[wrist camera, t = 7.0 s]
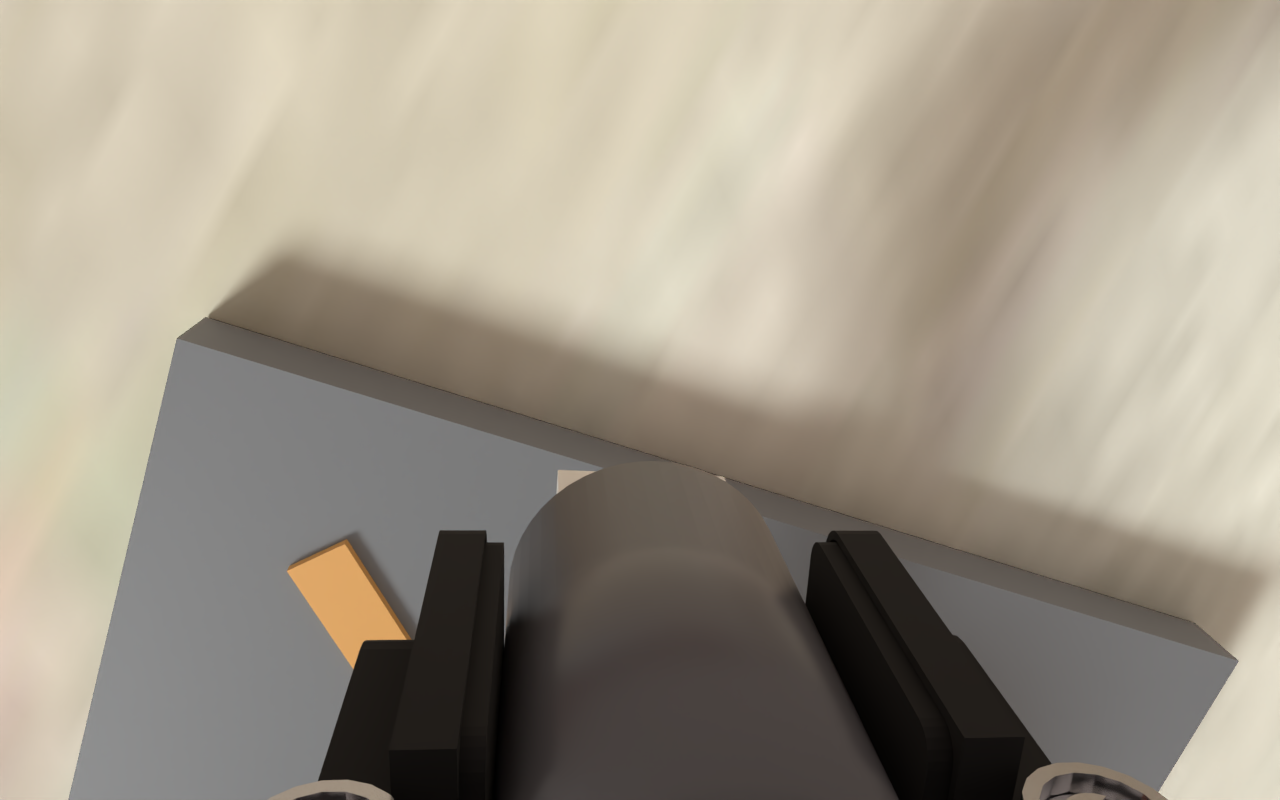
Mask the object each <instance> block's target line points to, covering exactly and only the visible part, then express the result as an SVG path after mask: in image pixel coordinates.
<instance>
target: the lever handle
mask: <svg viewBox="0 0 1280 800" xmlns="http://www.w3.org/2000/svg"><path fill="white" fill-rule="evenodd" d="M493 800H899V798H898V796H897V794H896V792H895V790H894V788H893V786H892V784H891V782H890V780H889V778H888V775H887V773H886V771H885V769H884V767H883V765H882V763H881V761H880V759H879V757H878V755H877V753H876V750H875V748H874V746H873V744H872V742H871V740H870V738H869V736H868V734H867V732H866V730H865V728H864V726H863V723H862V721H861V719H860V717H859V715H858V713H857V711H856V709H855V707H854V705H853V703H852V701H851V698H850V696H849V694H848V692H847V690H846V688H845V686H844V684H843V682H842V680H841V678H840V676H839V674H838V671H837V669H836V667H835V665H834V663H833V661H832V659H831V657H830V655H829V653H828V651H827V649H826V646H825V644H824V642H823V640H822V638H821V636H820V634H819V632H818V630H817V628H816V626H815V624H814V622H813V619H812V617H811V615H810V613H809V611H808V609H807V607H806V605H805V603H804V601H803V599H802V597H801V594H800V592H799V590H798V588H797V586H796V584H795V582H794V580H793V578H792V576H791V574H790V572H789V570H788V567H787V565H786V563H785V561H784V559H783V557H782V555H781V553H780V551H779V549H778V547H777V545H776V542H775V540H774V538H773V536H772V534H771V532H770V530H769V528H768V526H767V525H766V523H765V521H764V519H763V518H762V516H761V515H760V513H759V512H758V511H757V509H756V508H755V507H754V506H753V504H752V503H751V502H750V501H749V500H748V499H747V498H746V497H745V496H744V495H743V494H742V493H740V492H739V491H738V490H737V489H735V488H734V487H733V486H731V485H730V484H728V483H727V482H726V480H725V478H724V476H714V475H712V474H711V473H708V472H705V471H703V470H700V469H697V468H695V467H691V466H687V465H683V464H678V463H672V462H662V461H638V462H631V463H624V464H619V465H615V466H611V467H608V468H604V469H601V470H598V471H574V470H558V475H557V493H556V495H555V496H553V497H552V498H551V499H550V500H549V501H548V502H547V503H546V504H545V505H544V506H543V507H542V508H541V509H540V510H539V512H538V513H537V514H536V515H535V517H534V518H533V519H532V520H531V522H530V523H529V525H528V526H527V528H526V530H525V531H524V533H523V535H522V537H521V539H520V541H519V543H518V546H517V548H516V550H515V554H514V557H513V561H512V565H511V570H510V578H509V589H508V603H507V617H506V631H505V644H504V658H503V672H502V686H501V700H500V714H499V728H498V741H497V755H496V769H495V783H494V797H493Z"/></svg>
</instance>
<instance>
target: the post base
mask: <svg viewBox="0 0 1280 800" xmlns="http://www.w3.org/2000/svg"><path fill="white" fill-rule="evenodd" d="M638 461H662V462H672V461H669V460H666V459H662V458H659V457H656V456H653V455H650V454H646V453H643V452H640V451H637V450H633V449H630V448H627V447H624V446H620V445H617V444H614V443H611V442H608V441H604V440H601V439H598V438H595V437H591V436H588V435H585V434H582V433H578V432H575V431H572V430H569V429H566V428H562V427H559V426H556V425H553V424H549V423H546V422H543V421H540V420H536V419H533V418H530V417H527V416H524V415H520V414H517V413H514V412H511V411H507V410H504V409H501V408H498V407H494V406H491V405H488V404H485V403H482V402H478V401H475V400H472V399H469V398H465V397H462V396H459V395H456V394H452V393H449V392H446V391H443V390H440V389H436V388H433V387H430V386H427V385H423V384H420V383H417V382H414V381H410V380H407V379H404V378H401V377H398V376H394V375H391V374H388V373H385V372H381V371H378V370H375V369H372V368H368V367H365V366H362V365H359V364H356V363H352V362H349V361H346V360H343V359H339V358H336V357H333V356H330V355H326V354H323V353H320V352H317V351H314V350H310V349H307V348H304V347H301V346H297V345H294V344H291V343H288V342H284V341H281V340H278V339H275V338H272V337H268V336H265V335H262V334H259V333H255V332H252V331H249V330H246V329H242V328H239V327H236V326H233V325H230V324H226V323H223V322H220V321H217V320H213V319H210V318H207V317H205V318H204V319H203V320H201V321H200V322H198V323H197V324H196V325H194V326H193V327H192V328H190V329H189V330H188V331H186V332H185V333H184V334H182V335H181V336H179V337H178V338H177V340H176V344H175V349H174V353H173V357H172V361H171V366H170V370H169V374H168V378H167V383H166V387H165V391H164V395H163V400H162V404H161V408H160V412H159V417H158V421H157V425H156V429H155V434H154V438H153V442H152V446H151V451H150V455H149V459H148V463H147V468H146V472H145V476H144V481H143V485H142V489H141V493H140V498H139V502H138V506H137V510H136V515H135V519H134V523H133V527H132V532H131V536H130V540H129V544H128V549H127V553H126V557H125V561H124V566H123V570H122V574H121V578H120V583H119V587H118V591H117V595H116V600H115V604H114V608H113V612H112V617H111V621H110V625H109V629H108V634H107V638H106V642H105V646H104V651H103V655H102V659H101V664H100V668H99V672H98V676H97V681H96V685H95V689H94V693H93V698H92V702H91V706H90V710H89V715H88V719H87V723H86V727H85V732H84V736H83V740H82V744H81V749H80V753H79V757H78V761H77V766H76V770H75V774H74V778H73V783H72V787H71V791H70V795H69V800H268V799H269V798H271V797H273V796H275V795H277V794H280V793H282V792H284V791H286V790H289V789H291V788H293V787H296V786H300V785H304V784H309V783H313V782H317V781H318V779H319V776H320V773H321V769H322V766H323V763H324V760H325V757H326V754H327V751H328V748H329V744H330V741H331V738H332V735H333V732H334V729H335V726H336V722H337V719H338V716H339V713H340V710H341V707H342V704H343V700H344V697H345V694H346V691H347V688H348V685H349V682H350V679H351V675H352V672H353V669H354V666H355V663H356V660H357V657H358V653H359V650H360V648H361V646H362V643H363V642H364V641H366V640H414V639H415V634H416V630H417V626H418V621H419V617H420V612H421V608H422V604H423V599H424V595H425V591H426V586H427V582H428V578H429V573H430V569H431V565H432V560H433V556H434V551H435V547H436V543H437V538H438V534H439V531H440V530H486V533H487V542H504V644H505V631H506V617H507V603H508V589H509V578H510V570H511V565H512V561H513V557H514V554H515V550H516V548H517V546H518V543H519V541H520V539H521V537H522V535H523V533H524V531H525V530H526V528H527V526H528V525H529V523H530V522H531V520H532V519H533V518H534V517H535V515H536V514H537V513H538V512H539V510H540V509H541V508H542V507H543V506H544V505H545V504H546V503H547V502H548V501H549V500H550V499H551V498H552V497H553V496H555V495H556V493H557V475H558V470H574V471H598V470H601V469H604V468H608V467H611V466H615V465H619V464H624V463H631V462H638ZM672 463H675V462H672ZM678 464H679V463H678ZM712 475H714V474H712ZM714 476H717V475H714ZM725 480H726V482H727V483H728V484H730V485H731V486H733V487H734V488H735V489H737V490H738V491H739V492H740V493H742V494H743V495H744V496H745V497H746V498H747V499H748V500H749V501H750V502H751V503H752V504H753V506H754V507H755V508H756V509H757V511H758V512H759V513H760V515H761V516H762V518H763V519H764V521H765V523H766V525H767V526H768V528H769V530H770V532H771V534H772V536H773V538H774V540H775V542H776V545H777V547H778V549H779V551H780V553H781V555H782V557H783V559H784V561H785V563H786V565H787V567H788V570H789V572H790V574H791V576H792V578H793V580H794V582H795V584H796V586H797V588H798V590H799V592H800V594H801V597H802V599H803V601H804V603H806V594H807V585H808V576H809V567H810V558H811V551H812V548H813V545H814V544H815V542H826V540H827V537H828V534H829V533H830V532H831V531H878V532H879V533H880V534H881V535H882V537H883V538H884V539H885V541H886V542H887V544H888V545H889V546H890V548H891V549H892V551H893V552H894V553H895V555H896V556H897V558H898V559H899V560H900V562H901V563H902V565H903V566H904V567H905V569H906V570H907V572H908V573H909V574H910V576H911V577H912V579H913V580H914V581H915V583H916V584H917V586H918V587H919V588H920V590H921V591H922V593H923V594H924V596H925V597H926V598H927V600H928V601H929V603H930V604H931V605H932V607H933V608H934V610H935V611H936V612H937V614H938V615H939V617H940V618H941V619H942V621H943V622H944V624H945V625H946V626H947V628H948V629H949V631H950V632H951V633H952V635H956V636H958V637H959V638H960V639H961V640H962V641H963V642H964V643H965V644H966V646H967V647H968V649H969V650H970V651H971V653H972V654H973V655H974V657H975V658H976V660H977V661H978V662H979V664H980V665H981V667H982V668H983V669H984V671H985V672H986V673H987V675H988V676H989V678H990V679H991V680H992V682H993V683H994V685H995V686H996V687H997V689H998V690H999V691H1000V693H1001V694H1002V696H1003V697H1004V698H1005V700H1006V701H1007V702H1008V704H1009V705H1010V707H1011V708H1012V709H1013V711H1014V712H1015V714H1016V715H1017V716H1018V718H1019V719H1020V720H1021V722H1022V723H1023V725H1024V726H1025V727H1026V729H1027V730H1028V732H1029V733H1030V734H1031V736H1032V737H1033V738H1034V740H1035V741H1036V743H1037V744H1038V745H1039V747H1040V748H1041V749H1042V751H1043V752H1044V754H1045V755H1046V756H1047V758H1048V759H1049V761H1050V762H1051V763H1052V764H1054V763H1071V762H1080V763H1085V764H1091V765H1097V766H1102V767H1106V768H1109V769H1112V770H1114V771H1117V772H1120V773H1123V774H1126V775H1129V776H1131V777H1133V778H1134V779H1136V780H1138V781H1140V782H1142V783H1144V784H1146V785H1148V786H1149V787H1151V788H1153V789H1154V790H1156V791H1157V792H1158V791H1159V790H1160V788H1161V786H1162V785H1163V783H1164V781H1165V780H1166V778H1167V777H1168V775H1169V773H1170V772H1171V770H1172V768H1173V767H1174V765H1175V764H1176V762H1177V760H1178V759H1179V757H1180V755H1181V754H1182V752H1183V751H1184V749H1185V747H1186V746H1187V744H1188V742H1189V741H1190V739H1191V738H1192V736H1193V734H1194V733H1195V731H1196V729H1197V728H1198V726H1199V725H1200V723H1201V721H1202V720H1203V718H1204V717H1205V715H1206V713H1207V712H1208V710H1209V708H1210V707H1211V705H1212V704H1213V702H1214V700H1215V699H1216V697H1217V695H1218V694H1219V692H1220V691H1221V689H1222V687H1223V686H1224V684H1225V682H1226V681H1227V679H1228V678H1229V676H1230V674H1231V673H1232V671H1233V669H1234V668H1235V666H1236V665H1237V663H1238V660H1237V659H1236V658H1235V657H1233V656H1232V655H1231V654H1230V653H1229V652H1228V651H1226V650H1225V649H1224V648H1223V647H1222V646H1221V645H1219V644H1218V643H1217V642H1216V641H1215V640H1214V639H1213V638H1211V637H1210V636H1209V635H1208V634H1207V633H1206V632H1204V631H1203V630H1202V629H1201V628H1200V627H1199V626H1197V625H1196V624H1195V623H1192V622H1189V621H1186V620H1183V619H1179V618H1176V617H1173V616H1170V615H1166V614H1163V613H1160V612H1157V611H1154V610H1150V609H1147V608H1144V607H1141V606H1137V605H1134V604H1131V603H1128V602H1124V601H1121V600H1118V599H1115V598H1112V597H1108V596H1105V595H1102V594H1099V593H1095V592H1092V591H1089V590H1086V589H1082V588H1079V587H1076V586H1073V585H1070V584H1066V583H1063V582H1060V581H1057V580H1053V579H1050V578H1047V577H1044V576H1040V575H1037V574H1034V573H1031V572H1028V571H1024V570H1021V569H1018V568H1015V567H1011V566H1008V565H1005V564H1002V563H998V562H995V561H992V560H989V559H986V558H982V557H979V556H976V555H973V554H969V553H966V552H963V551H960V550H956V549H953V548H950V547H947V546H944V545H940V544H937V543H934V542H931V541H927V540H924V539H921V538H918V537H914V536H911V535H908V534H905V533H902V532H898V531H895V530H892V529H889V528H885V527H882V526H879V525H876V524H872V523H869V522H866V521H863V520H860V519H856V518H853V517H850V516H847V515H843V514H840V513H837V512H834V511H830V510H827V509H824V508H821V507H818V506H814V505H811V504H808V503H805V502H801V501H798V500H795V499H792V498H788V497H785V496H782V495H779V494H776V493H772V492H769V491H766V490H763V489H759V488H756V487H753V486H750V485H746V484H743V483H740V482H737V481H734V480H730V479H727V478H725Z"/></svg>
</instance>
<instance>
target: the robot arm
mask: <svg viewBox="0 0 1280 800" xmlns="http://www.w3.org/2000/svg"><path fill="white" fill-rule="evenodd" d="M805 605H806V607H807V609H808V611H809V613H810V615H811V617H812V619H813V622H814V624H815V626H816V628H817V630H818V632H819V634H820V636H821V638H822V640H823V642H824V644H825V646H826V649H827V651H828V653H829V655H830V657H831V659H832V661H833V663H834V665H835V667H836V669H837V671H838V674H839V676H840V678H841V680H842V682H843V684H844V686H845V688H846V690H847V692H848V694H849V696H850V698H851V701H852V703H853V705H854V707H855V709H856V711H857V713H858V715H859V717H860V719H861V721H862V723H863V726H864V728H865V730H866V732H867V734H868V736H869V738H870V740H871V742H872V744H873V746H874V748H875V750H876V753H877V755H878V757H879V759H880V761H881V763H882V765H883V767H884V769H885V771H886V773H887V775H888V778H889V780H890V782H891V784H892V786H893V788H894V790H895V792H896V794H897V796H898V798H899V800H1167V799H1166V798H1165V797H1164V796H1162V795H1161V794H1160V793H1158V792H1157V791H1156V790H1154V789H1153V788H1151V787H1149V786H1148V785H1146V784H1144V783H1142V782H1140V781H1138V780H1136V779H1134V778H1133V777H1131V776H1129V775H1126V774H1123V773H1120V772H1117V771H1114V770H1112V769H1109V768H1106V767H1102V766H1097V765H1091V764H1085V763H1080V762H1071V763H1054V764H1052V763H1051V762H1050V761H1049V759H1048V758H1047V756H1046V755H1045V754H1044V752H1043V751H1042V749H1041V748H1040V747H1039V745H1038V744H1037V743H1036V741H1035V740H1034V738H1033V737H1032V736H1031V734H1030V733H1029V732H1028V730H1027V729H1026V727H1025V726H1024V725H1023V723H1022V722H1021V720H1020V719H1019V718H1018V716H1017V715H1016V714H1015V712H1014V711H1013V709H1012V708H1011V707H1010V705H1009V704H1008V702H1007V701H1006V700H1005V698H1004V697H1003V696H1002V694H1001V693H1000V691H999V690H998V689H997V687H996V686H995V685H994V683H993V682H992V680H991V679H990V678H989V676H988V675H987V673H986V672H985V671H984V669H983V668H982V667H981V665H980V664H979V662H978V661H977V660H976V658H975V657H974V655H973V654H972V653H971V651H970V650H969V649H968V647H967V646H966V644H965V643H964V642H963V641H962V640H961V639H960V638H959V637H958V636H956V635H952V633H951V632H950V631H949V629H948V628H947V626H946V625H945V624H944V622H943V621H942V619H941V618H940V617H939V615H938V614H937V612H936V611H935V610H934V608H933V607H932V605H931V604H930V603H929V601H928V600H927V598H926V597H925V596H924V594H923V593H922V591H921V590H920V588H919V587H918V586H917V584H916V583H915V581H914V580H913V579H912V577H911V576H910V574H909V573H908V572H907V570H906V569H905V567H904V566H903V565H902V563H901V562H900V560H899V559H898V558H897V556H896V555H895V553H894V552H893V551H892V549H891V548H890V546H889V545H888V544H887V542H886V541H885V539H884V538H883V537H882V535H881V534H880V533H879V532H878V531H831V532H830V533H829V534H828V537H827V540H826V542H815V544H814V545H813V548H812V551H811V558H810V567H809V576H808V585H807V594H806V603H805ZM503 658H504V542H487V533H486V530H440V531H439V534H438V538H437V543H436V547H435V551H434V556H433V560H432V565H431V569H430V573H429V578H428V582H427V586H426V591H425V595H424V599H423V604H422V608H421V612H420V617H419V621H418V626H417V630H416V634H415V639H414V640H366V641H364V642H363V643H362V646H361V648H360V650H359V653H358V657H357V660H356V663H355V666H354V669H353V672H352V675H351V679H350V682H349V685H348V688H347V691H346V694H345V697H344V700H343V704H342V707H341V710H340V713H339V716H338V719H337V722H336V726H335V729H334V732H333V735H332V738H331V741H330V744H329V748H328V751H327V754H326V757H325V760H324V763H323V766H322V769H321V773H320V776H319V779H318V781H317V782H313V783H309V784H304V785H300V786H296V787H293V788H291V789H289V790H286V791H284V792H282V793H280V794H277V795H275V796H273V797H271V798H269V799H268V800H493V797H494V783H495V769H496V755H497V741H498V728H499V714H500V700H501V686H502V672H503Z"/></svg>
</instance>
